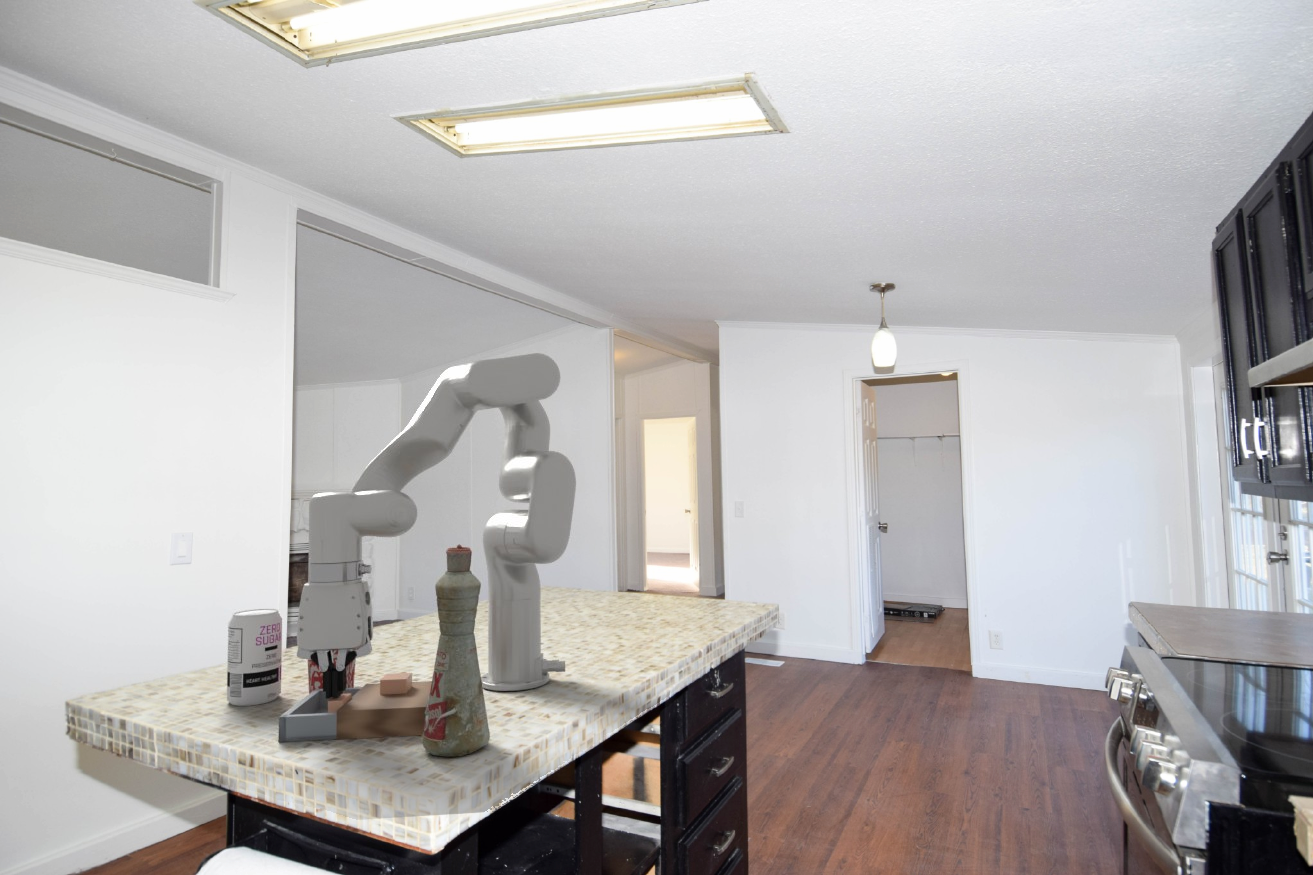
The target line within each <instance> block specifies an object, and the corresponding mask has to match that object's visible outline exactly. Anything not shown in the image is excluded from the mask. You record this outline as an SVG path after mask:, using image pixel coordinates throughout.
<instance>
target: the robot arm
mask: <svg viewBox="0 0 1313 875" xmlns="http://www.w3.org/2000/svg"><path fill="white" fill-rule="evenodd" d="M560 384H561V372H560V369H559V366H558V364H557V363H556V362H555V360H554V359H553V358H552V357H550V356H549V355H547V354H544V353H540V352H534V353H528V354H527V353H526V354H520V355H514V356H506V357H499V358H498V357H497V358H489V359H480V360H479V359H478V360H475V361H470V362H466V363H459V364H455V365H453V366H451V367H449V368H447V369H445V371H444V372H443V373H441V375H440V377H438V378H437V380H436V382H435V383H434V385H433V386H432V387H431V390H429V392H428V394H427V396H426V397H425V399H424V400H423V402H422V403H421V405H419V407H418V409H417V411H416V412H415V413H414V414H413V417H412V418H411V420H410V421H409V423H408V424H407V425H406V427H405V428H404V429H403V431H402V432H400V433H399V434H398V435H397V436H396V437H395V438H394V439H393V440H391V441H390V442H389V443H388V445H386V447H385V448H384V449H382V450H381V451H380V452H379V453H378V454H377V455H376V456H375V457H374V458H373V459H372V460H371V461H370V462H369V464H368V465H367V466H366V467H365V469H364V470H363V472H361V474H360V476H359V477H358V478H357V480H356V481H355V483H354V484H353V486H352V487H351V489H350V491H349V492H346V491H344V492H343V491H339V492H338V491H337V492H321V493H316V494H314V495H313V496H312V497H311V498H310V500H309V503H308V574H307V577H308V578H307V579H308V580H307V581H308V582H306V583H304V584H303V587H302V592H301V596H300V600H299V607H298V615H297V626H296V643H297V645H296V646H297V647H298V648H297V652H296V656H297V658H299V659H304V660H307V661H308V660H312V661H313V662H314V663H315V664H316V665H317V666H318V667H319V668H320V670H321V671H322V672H323V692H326V699H330V698H331V697H332V698H338V697H339V696H340V695H342V694H343V691H345V690H346V678H347V666H348V665H349V664H350V663H351V662H352V661H353V660H354V659H355V658H356V659H357V658H358V659H359V658H362V657H365V656H368V655H370V654H371V653H372V652H373V647H372V642H371V641H372V640H373V637H374V620H373V618H374V617H373V608H372V596H371V592H370V587H369V586H370V585H369V581H368V580H365V579H363V577H364V576H365V575H367V574H369V575H370V574H371V573H372V571H373V570H372V564H366V563H364V560H363V537H376V538H396V537H400V536H402V535H405V534H406V533H407V532H409V531H410V530H411V529H412V528H413V527H414V525H415V523H416V522H417V518H418V507H417V505H416V503H415V501H414V500H413V498H412V497H410V496H409V495H408V494H406V493H404V492H402V490H403V489H404V488H405V487H406V486H407V485H408V484H409V483H410V482H411V481H412V480H414V478H416V477H418V476H419V475H420V474H422V473H423V472H425V471H428V470H429V469H431V468H433V467H434V466H436V465H438V464H440V463H441V462H442V461H443V462H444V461H445V459H446V458H448V457H449V456H450V455H451V454H452V453H453V452H454V451H453V450H455V449H454V448H455V447H456V446H457V444H458V442H459V441H460V438H461V437H462V436H463V434H464V432H466V429H467V427H468V426H469V424H470V422H471V421H472V419H473V418H474V416H475V414H476V413H477V412H478V411H483V410H489V409H499V411H500V413H501V415H502V417H503V420H504V428H505V429H504V430H505V431H504V442H503V448H502V455H501V463H500V469H499V475H498V487H499V488H498V489H499V491H500V494H501V495H502V496H503V498H505V499H506V500H508V501H510V502H513V503H518V504H520V503H522V504H529V505H528V509H505V510H502V511H499V512H497V513H495V514H494V515H492V517H490V518H489V519H488V521H487V522H486V524H485V526H484V529H483V531H482V532H483V533H482V545H483V546H482V547H483V551H484V556H485V561H486V563H485V564H486V570H487V583H488V585H487V588H488V590H487V592H488V593H487V595H488V596H487V597H488V598H487V599H488V600H487V601H488V602H487V604H488V605H487V606H488V607H487V608H488V609H487V610H488V612H487V614H488V616H487V618H488V620H487V621H488V623H487V626H488V628H487V629H488V632H487V633H488V634H487V635H488V637H487V638H488V641H487V642H488V646H487V648H488V649H487V650H488V651H487V652H488V658H487V659H488V662H487V663H488V670H487V671H488V672H487V673H484V674H483V675H481V680H482V688H483V689H486V690H489V691H499V692H514V691H516V692H517V691H524V690H531V689H535V688H539V687H542V686H544V685H546V684H548V682H550V673H551V672H553V673H554V672H555V673H565V672H566V660H560V659H552V660H548V659H547V658H544V653H543V652H542V649H541V648H542V644H541V643H542V642H541V641H542V640H541V639H542V638H541V637H542V636H541V635H542V634H541V631H542V630H541V618H542V617H541V616H542V614H541V613H542V612H541V595H542V594H541V592H542V591H541V579H540V574H539V571H538V568H537V566H536V565H537V564H539V565H546V564H548V565H549V564H553V563H554V562H556V561H558V560H559V559H560V558H561V557H562V556H563V555H564V553H565V551H566V549H567V547H568V544H569V540H570V536H571V530H572V522H573V514H574V507H575V506H574V504H575V500H576V490H577V488H576V487H577V480H576V479H577V478H576V472H575V468H574V466H573V464H572V462H571V461H570V459H569V458H568V457H567V456H566V455H564V454H563V453H560V452H558V451H554V450H553V451H552V450H550V443H551V442H550V440H551V426H550V425H551V424H550V420H549V416H548V414H547V412H546V410H545V408H544V406H543V405H542V403H541V402H540V401H542V400H546V399H548V398H550V397H552V396H553V395H554V394H555V392H557V390H558V388H559V386H560ZM352 649H354V650H352ZM332 650H338V657H337V663H336V666H335V664H334V661H333V655H332Z"/></svg>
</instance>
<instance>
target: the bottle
mask: <svg viewBox="0 0 1313 875" xmlns="http://www.w3.org/2000/svg"><path fill="white" fill-rule="evenodd" d="M472 553H473V551H472V550H471V548H470V547H466V546H465V547H464V546H462V545H461V544H460V543H459V544H457V545H456V547H448V548H447V549H446V550H445V554H446V568H447V569H446V571H445V573H444V574H443V575H442V576H440V578H439V579H438V580H437V582H436V583H435V586H434V587H435V588H434V589H435V596H436V604H437V606H436V607H437V616H438V626H439V632H440V634H439V637H438V638H439V639H438V642H437V643H438V644H437V648H436V649H437V651H436V655H435V661H434V668H433V673H432V679H431V681H432V684H431V689H430V692H429V698H428V704H427V708H426V711H425V714H426V717H425V725H424V732H423V735H421V744H422V746H423V748H424V749H425V752H428V754H430V755H432V756H435V757H436V756H439V757H445V758H450V757H464V756H466V755H468V754H472V753H474V752H476V751H478V750H479V749H481V748H483V747H485V746H486V745H487V744H488V743H489V742H490V740H491V732H490V727H489V721H488V714H487V707H486V701H485V694H484V688H483V687H482V680H481V677H482V675H481V669H480V663H479V657H478V649H477V643H476V637H475V633H474V631H475V629H476V628H475V626H476V617H477V614H478V613H477V612H478V606H479V598H480V597H479V596H480V593H481V586H482V583H481V581H480V580H479V579H478V578H477V577H476V576H475V575H474V574H473V572H472V571H471V565H472V564H471V563H472Z"/></svg>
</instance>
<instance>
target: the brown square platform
mask: <svg viewBox="0 0 1313 875" xmlns="http://www.w3.org/2000/svg"><path fill="white" fill-rule="evenodd" d="M431 684H432V680H428V681H427V680H425V681H424V680H423V681H412V687H411V689H410V690H409V691H408V692H407V693H404V694H381V695H380V682H379V683H366V684H364V685H363V686H361V687H362V688H361V689H360V690H359V691H358V692H357V693H356V694H355V695H354V696H353V697H351V698H350V699H349V700H348V701H347V702H346V703H345V704H344V705H343V706H342V707H341V708H339V709H338V710H337V731H336V739H335V740H348V739H350V740H351V739H369V738H370V739H371V738H389V737H393V738H395V737H410V736H411V737H412V736H423V732H424V725H425V717H426V714H425V711H426V708H427V704H428V698H429V692H430V689H431Z"/></svg>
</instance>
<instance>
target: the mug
mask: <svg viewBox="0 0 1313 875" xmlns="http://www.w3.org/2000/svg"><path fill="white" fill-rule="evenodd" d="M352 650H354V649H352ZM332 655H333V661H334V664H335V666H336V663H337V657H338V650H332ZM356 659H357V658H355V659H354V660H353V661H352V662H351V663H350V664H349V665H348V666H347V678H346V688H355V675H356V674H355V673H356V672H355V671H356V661H357V660H356ZM307 678H308V695H309V694H310V693H311V692H313V691H314V690H315V689H323V672H322V671H321V670H320V668H319V667H318V666H317V665H316V664H315V663H314V662H313V661H312V660H308V659H307Z"/></svg>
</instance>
